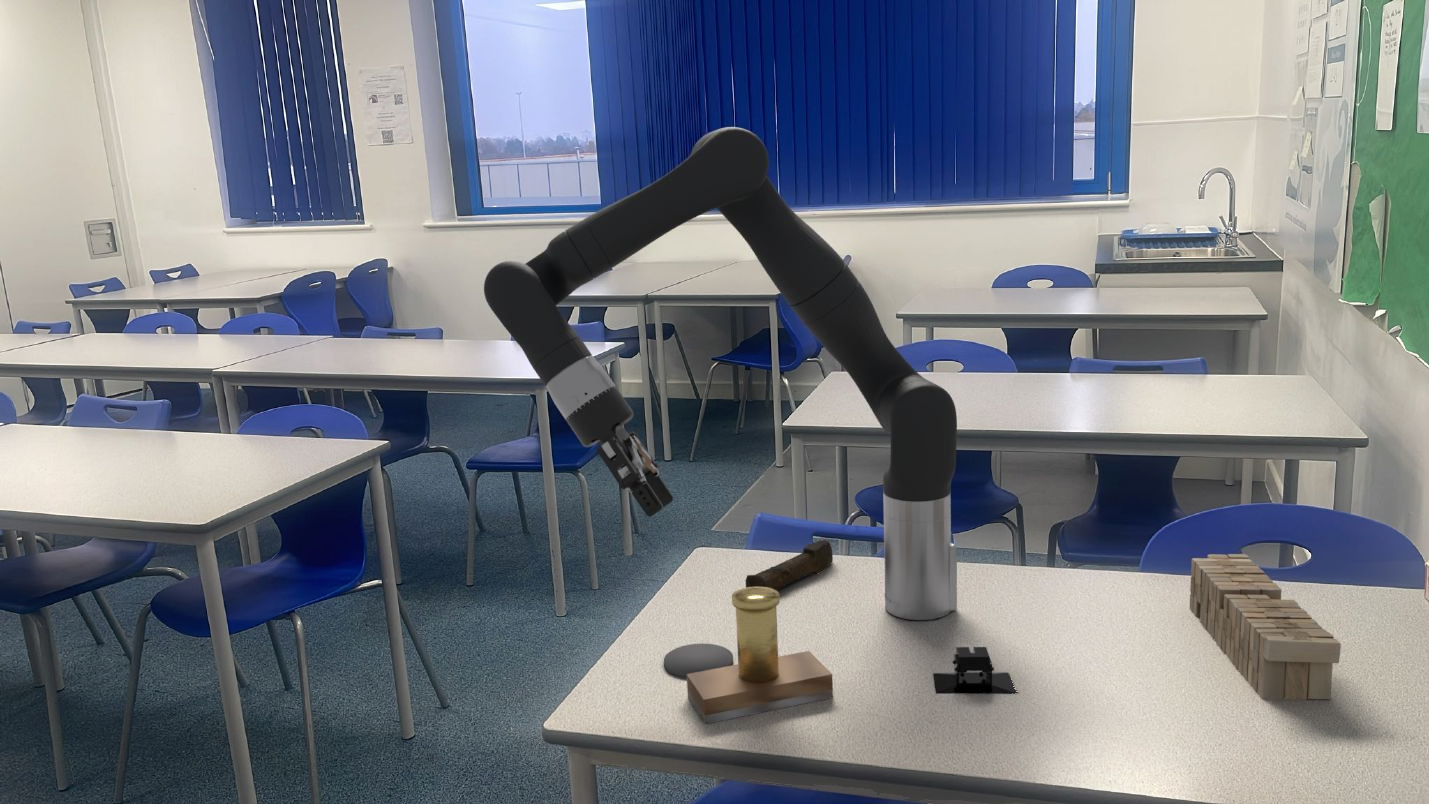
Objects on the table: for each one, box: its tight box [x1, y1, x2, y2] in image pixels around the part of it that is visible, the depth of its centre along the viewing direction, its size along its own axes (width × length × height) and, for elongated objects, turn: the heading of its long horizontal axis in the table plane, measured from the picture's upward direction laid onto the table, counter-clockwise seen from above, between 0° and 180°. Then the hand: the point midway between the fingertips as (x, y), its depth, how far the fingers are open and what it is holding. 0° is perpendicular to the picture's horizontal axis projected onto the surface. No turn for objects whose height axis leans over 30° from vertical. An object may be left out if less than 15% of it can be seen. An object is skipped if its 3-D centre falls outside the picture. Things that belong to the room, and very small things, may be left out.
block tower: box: [1189, 553, 1342, 701], centre depth 134 cm, size 8×8×29 cm
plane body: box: [686, 650, 834, 725], centre depth 128 cm, size 16×7×3 cm, turn 108°
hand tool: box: [745, 539, 834, 591], centre depth 164 cm, size 19×4×5 cm, turn 134°
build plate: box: [932, 646, 1019, 695], centre depth 129 cm, size 12×7×5 cm, turn 85°
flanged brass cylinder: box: [731, 587, 780, 683], centre depth 127 cm, size 6×6×10 cm
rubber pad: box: [663, 643, 734, 679], centre depth 138 cm, size 9×9×1 cm
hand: (662, 508), depth 133 cm, fingers open, 8 cm apart
